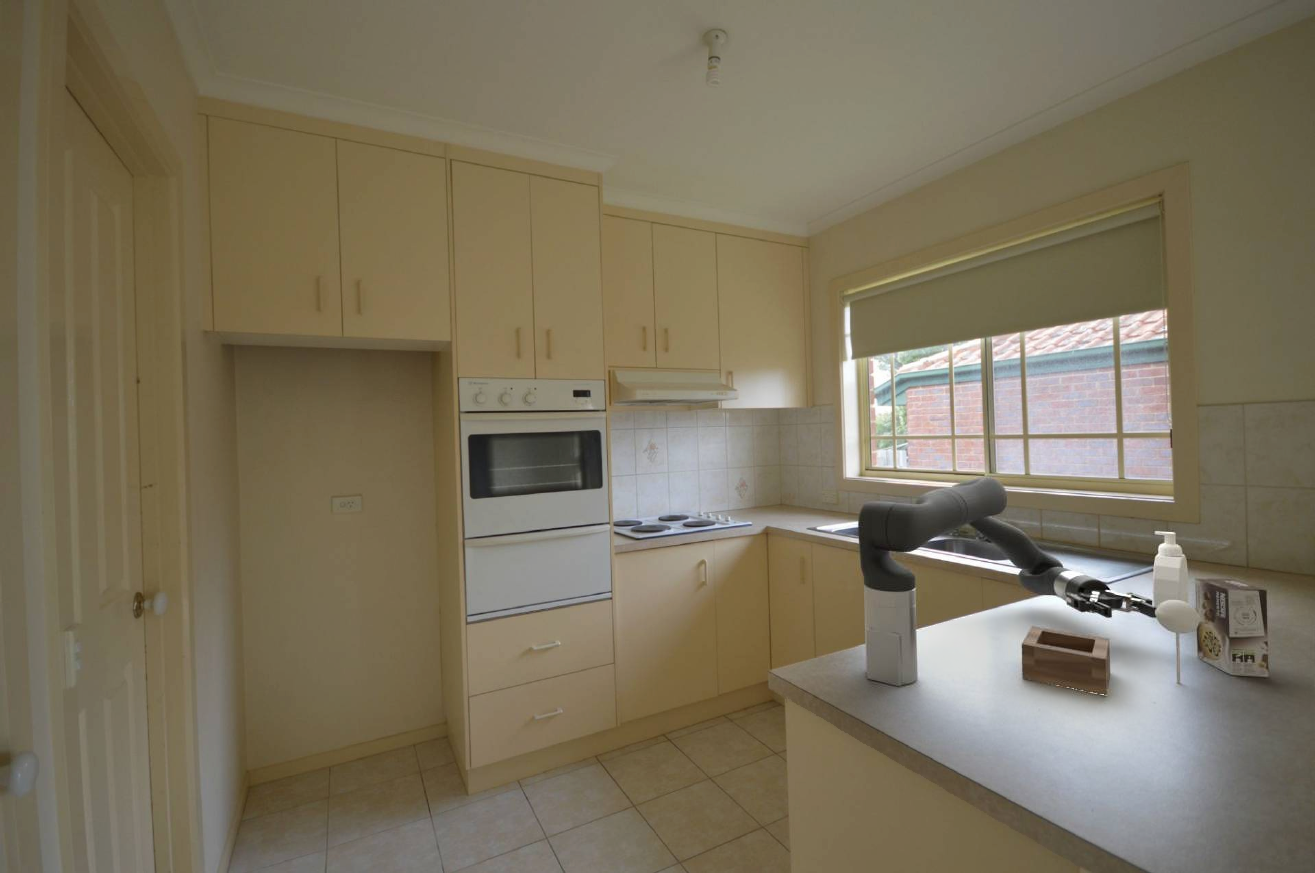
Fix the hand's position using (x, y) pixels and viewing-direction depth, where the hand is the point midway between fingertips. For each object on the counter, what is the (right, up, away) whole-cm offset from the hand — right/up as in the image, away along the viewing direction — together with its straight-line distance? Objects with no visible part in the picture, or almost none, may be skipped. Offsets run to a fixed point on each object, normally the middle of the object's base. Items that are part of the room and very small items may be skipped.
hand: (1132, 612), depth 117 cm
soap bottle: (+32, -9, +28) cm, 43 cm away
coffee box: (+15, -9, -5) cm, 18 cm away
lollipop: (-1, -9, -11) cm, 15 cm away
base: (-18, -10, -7) cm, 22 cm away
